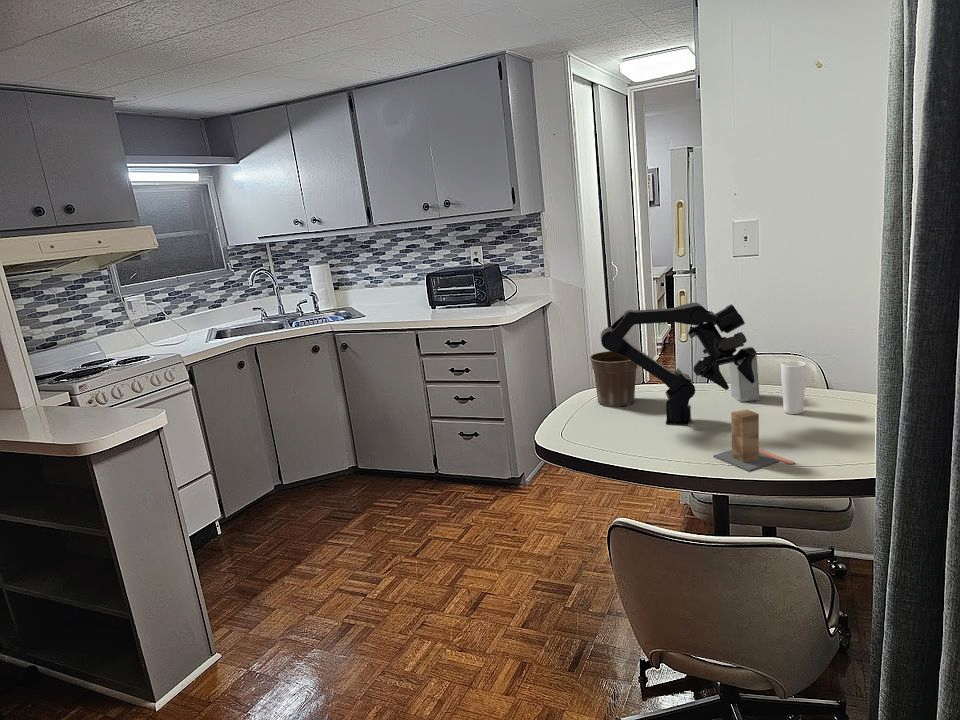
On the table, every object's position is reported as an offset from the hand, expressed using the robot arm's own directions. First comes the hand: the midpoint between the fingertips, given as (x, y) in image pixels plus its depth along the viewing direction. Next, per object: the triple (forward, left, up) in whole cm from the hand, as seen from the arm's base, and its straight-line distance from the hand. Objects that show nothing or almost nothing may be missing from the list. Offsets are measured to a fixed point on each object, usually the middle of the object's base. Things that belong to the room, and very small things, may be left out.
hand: (740, 385), depth 185 cm
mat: (+2, -20, -14) cm, 24 cm away
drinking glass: (+14, +19, -14) cm, 27 cm away
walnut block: (+2, -20, -13) cm, 24 cm away
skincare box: (0, +32, -14) cm, 35 cm away
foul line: (+6, -15, -14) cm, 21 cm away
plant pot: (-40, +25, -14) cm, 49 cm away
